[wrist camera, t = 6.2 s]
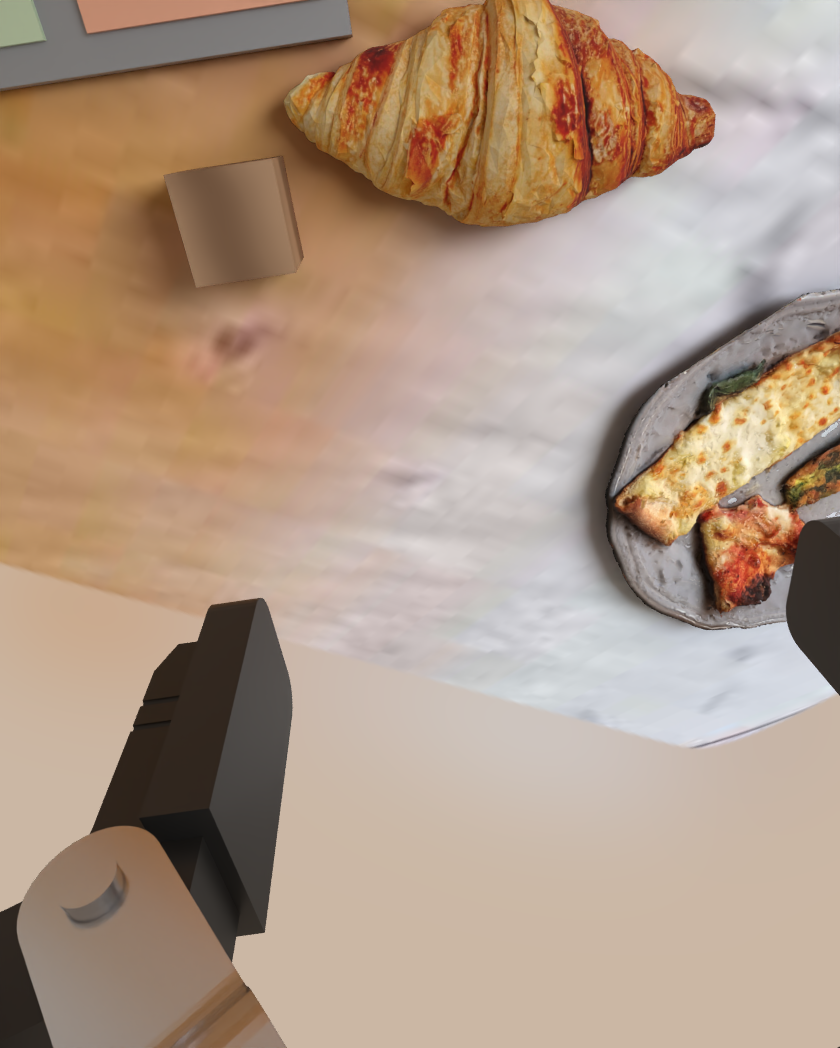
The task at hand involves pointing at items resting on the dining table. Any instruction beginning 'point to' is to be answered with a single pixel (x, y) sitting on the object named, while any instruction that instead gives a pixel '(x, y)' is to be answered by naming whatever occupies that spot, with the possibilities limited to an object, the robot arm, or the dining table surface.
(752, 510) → the food plate
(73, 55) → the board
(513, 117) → the croissant
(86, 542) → the dining table surface
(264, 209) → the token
